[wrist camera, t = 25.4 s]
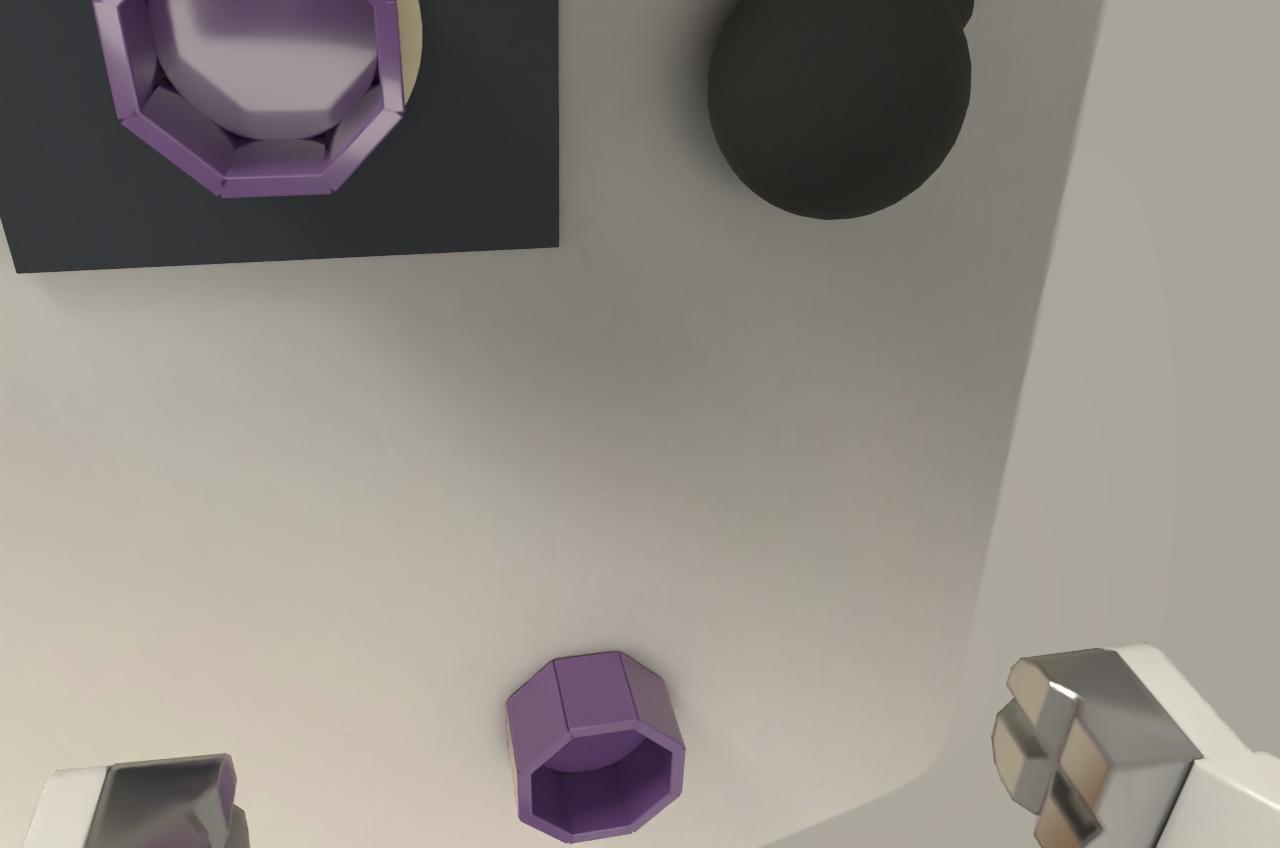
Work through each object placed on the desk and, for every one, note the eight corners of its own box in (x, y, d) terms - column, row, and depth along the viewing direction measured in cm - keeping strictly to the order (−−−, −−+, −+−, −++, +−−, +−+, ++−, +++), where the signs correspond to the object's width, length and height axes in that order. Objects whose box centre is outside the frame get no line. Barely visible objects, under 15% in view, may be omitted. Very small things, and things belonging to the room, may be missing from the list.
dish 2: (665, 644, 39) (689, 712, 36) (658, 755, 42) (679, 826, 39) (504, 665, 38) (515, 737, 35) (508, 778, 41) (519, 853, 38)
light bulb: (1158, -79, 25) (926, 266, 24) (991, -4, 31) (801, 274, 30) (974, -290, 23) (714, 79, 22) (834, -164, 29) (627, 128, 28)
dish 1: (386, -110, 24) (389, -95, 21) (406, 148, 27) (412, 191, 24) (105, -115, 23) (68, -101, 20) (159, 155, 26) (135, 201, 23)
